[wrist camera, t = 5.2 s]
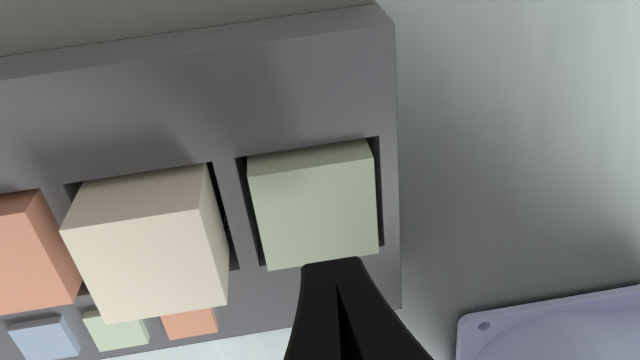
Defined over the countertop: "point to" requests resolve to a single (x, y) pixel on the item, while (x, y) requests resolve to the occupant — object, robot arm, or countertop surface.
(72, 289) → the key terracotta
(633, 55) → the countertop surface
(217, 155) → the keypad
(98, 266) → the key cream
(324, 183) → the key sage
